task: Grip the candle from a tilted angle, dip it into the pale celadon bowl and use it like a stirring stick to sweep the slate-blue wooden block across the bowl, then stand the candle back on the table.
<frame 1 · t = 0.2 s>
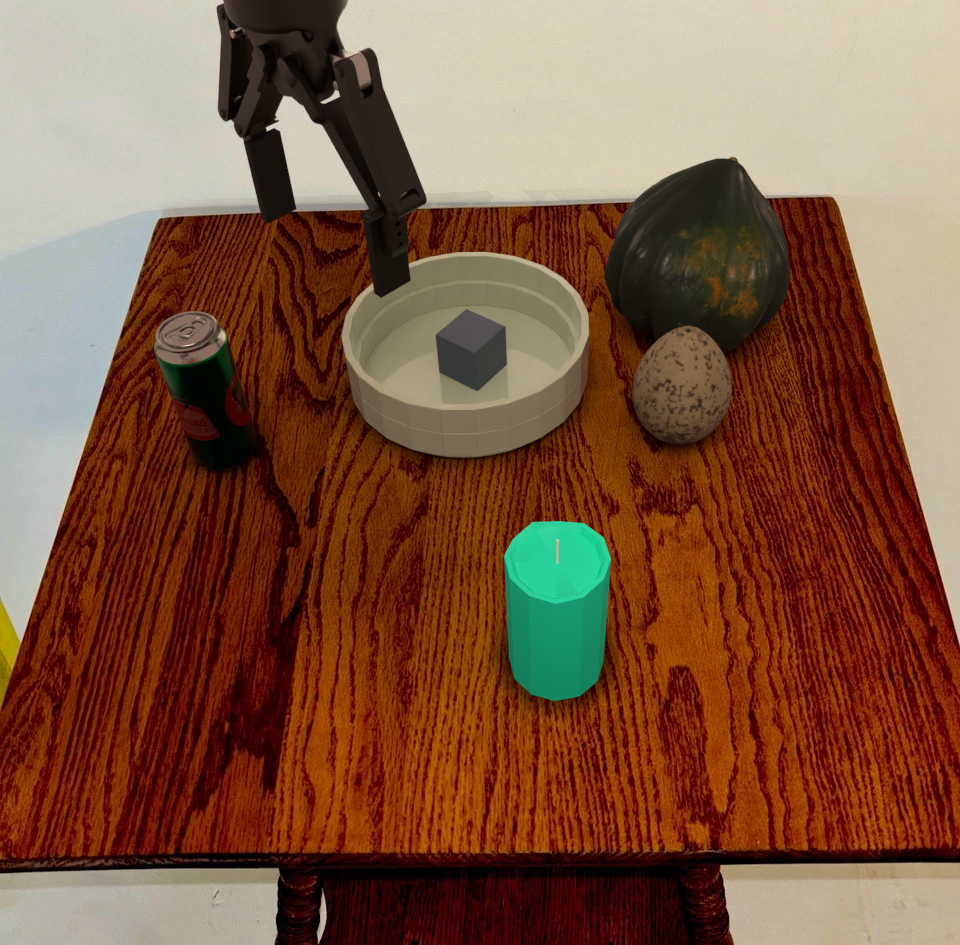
hand: (333, 249, 76), 13 cm above the table, tool pointing down, fingers open, 13 cm apart
block: (473, 368, 84), point 1 cm above the table, touching bowl
squash: (688, 322, 88), on the table
bowl: (469, 377, 85), on the table
candle: (556, 661, 66), on the table
decorative egg: (676, 433, 79), on the table
soda can: (226, 452, 80), on the table
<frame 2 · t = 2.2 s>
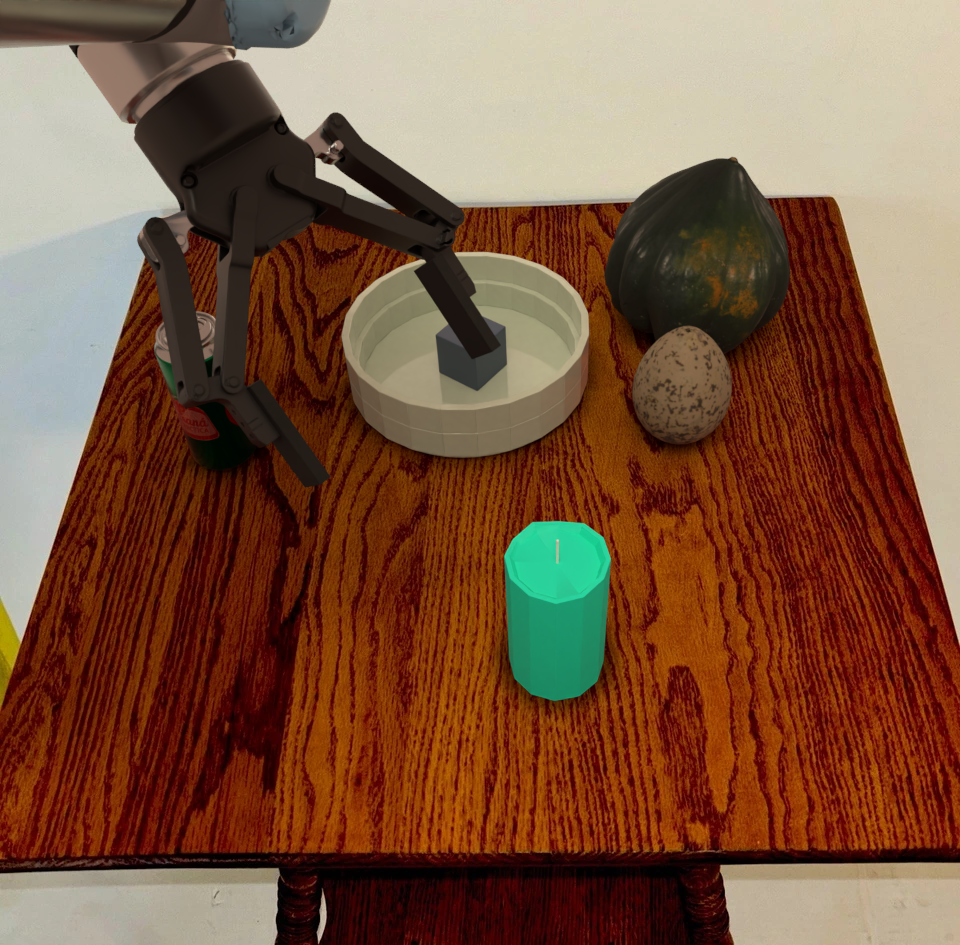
hand: (406, 415, 61), 15 cm above the table, tool tilted 45°, fingers open, 13 cm apart
nothing on the table moved.
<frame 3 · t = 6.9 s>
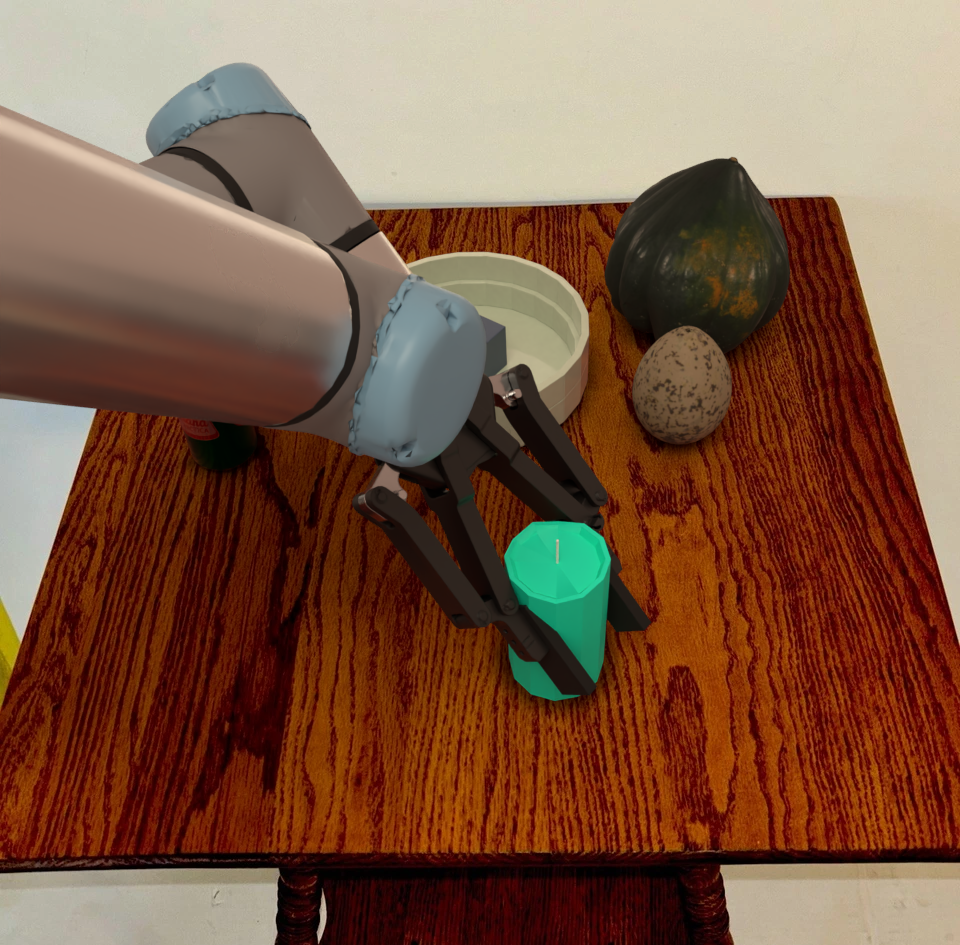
hand: (606, 657, 61), 4 cm above the table, tool tilted 45°, fingers closed on candle, 5 cm apart
candle: (556, 661, 66), on the table, touching gripper
everything else where it was.
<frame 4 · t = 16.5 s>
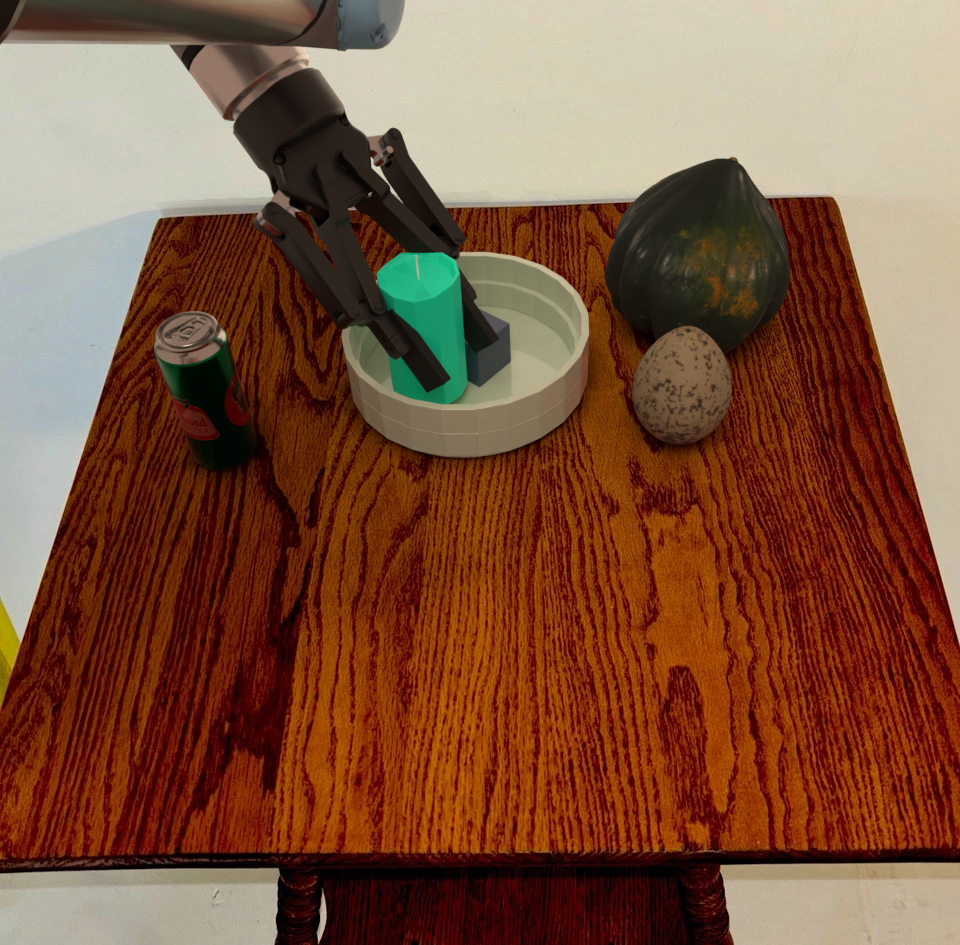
hand: (463, 365, 77), 6 cm above the table, tool tilted 45°, fingers closed on candle, 5 cm apart
block: (477, 364, 85), point 1 cm above the table, touching bowl, candle
candle: (429, 384, 82), point 2 cm above the table, touching block, gripper
everything else where it was.
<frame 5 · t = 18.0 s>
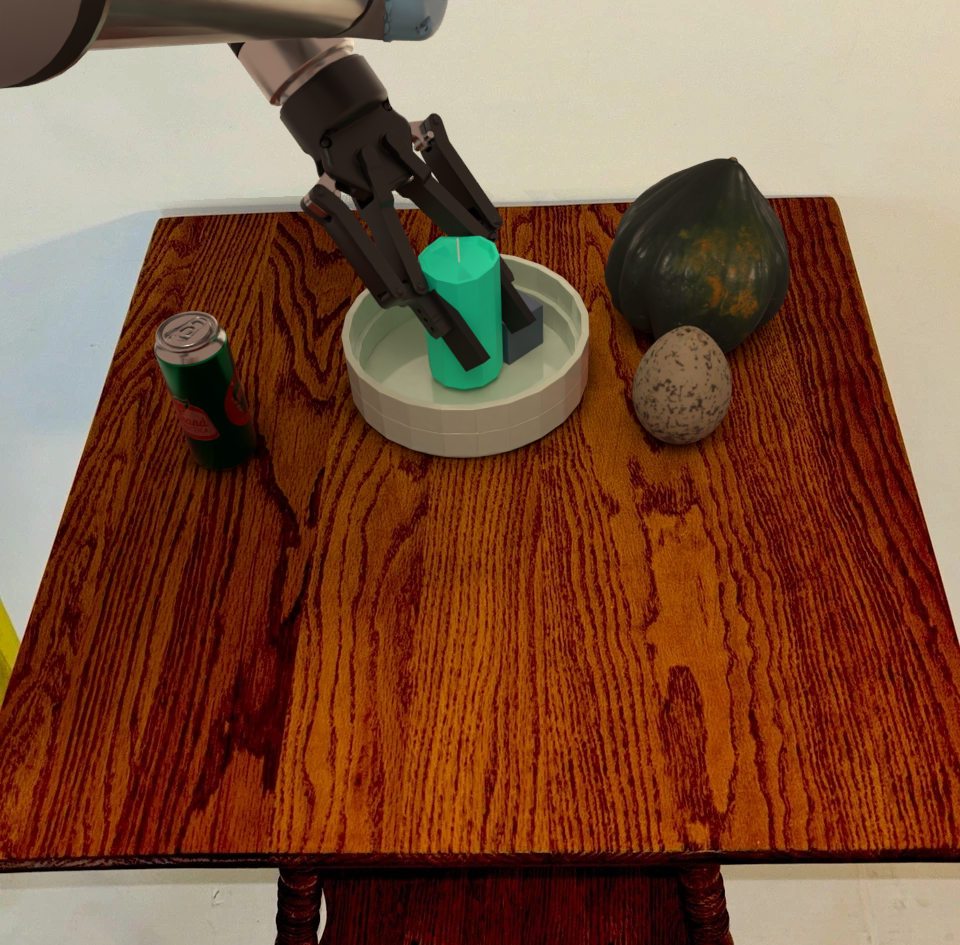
hand: (501, 345, 79), 5 cm above the table, tool tilted 45°, fingers closed on candle, 5 cm apart
block: (509, 343, 86), point 1 cm above the table, touching bowl, candle, gripper
candle: (466, 366, 84), point 1 cm above the table, touching block, gripper
everything else where it was.
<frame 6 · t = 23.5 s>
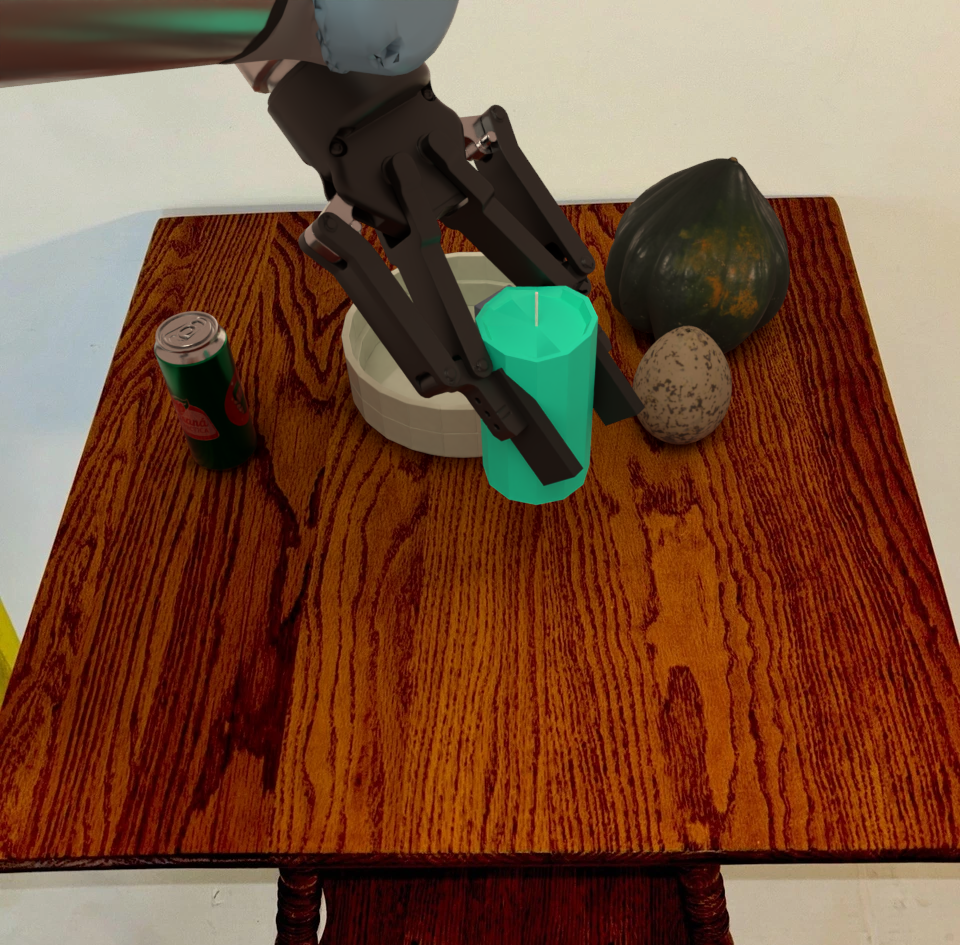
hand: (594, 445, 54), 18 cm above the table, tool tilted 45°, fingers closed on candle, 5 cm apart
block: (509, 343, 86), point 1 cm above the table, touching bowl
candle: (536, 467, 58), point 14 cm above the table, touching gripper
everything else where it was.
when the fingers open (4 cm above the table, at t = 28.1 s): candle stays where it is, on the table.
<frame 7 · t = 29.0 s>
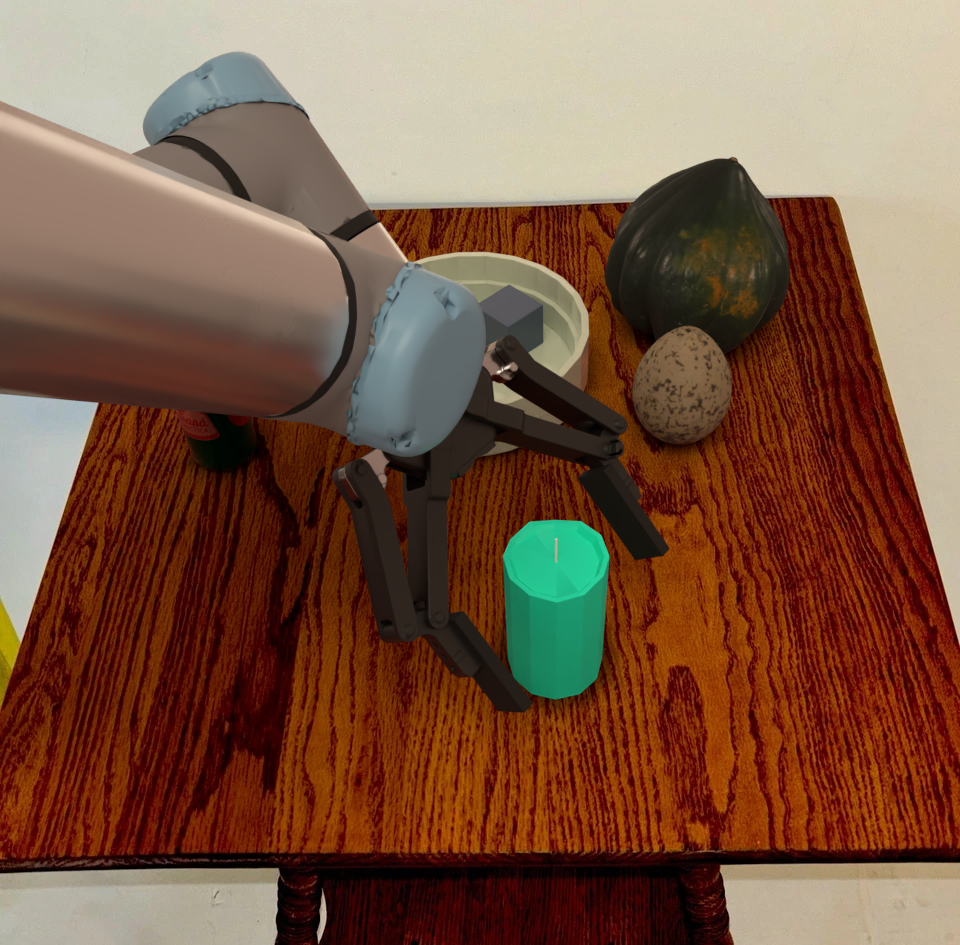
hand: (588, 627, 61), 6 cm above the table, tool tilted 45°, fingers open, 13 cm apart
candle: (554, 659, 66), on the table
everything else where it was.
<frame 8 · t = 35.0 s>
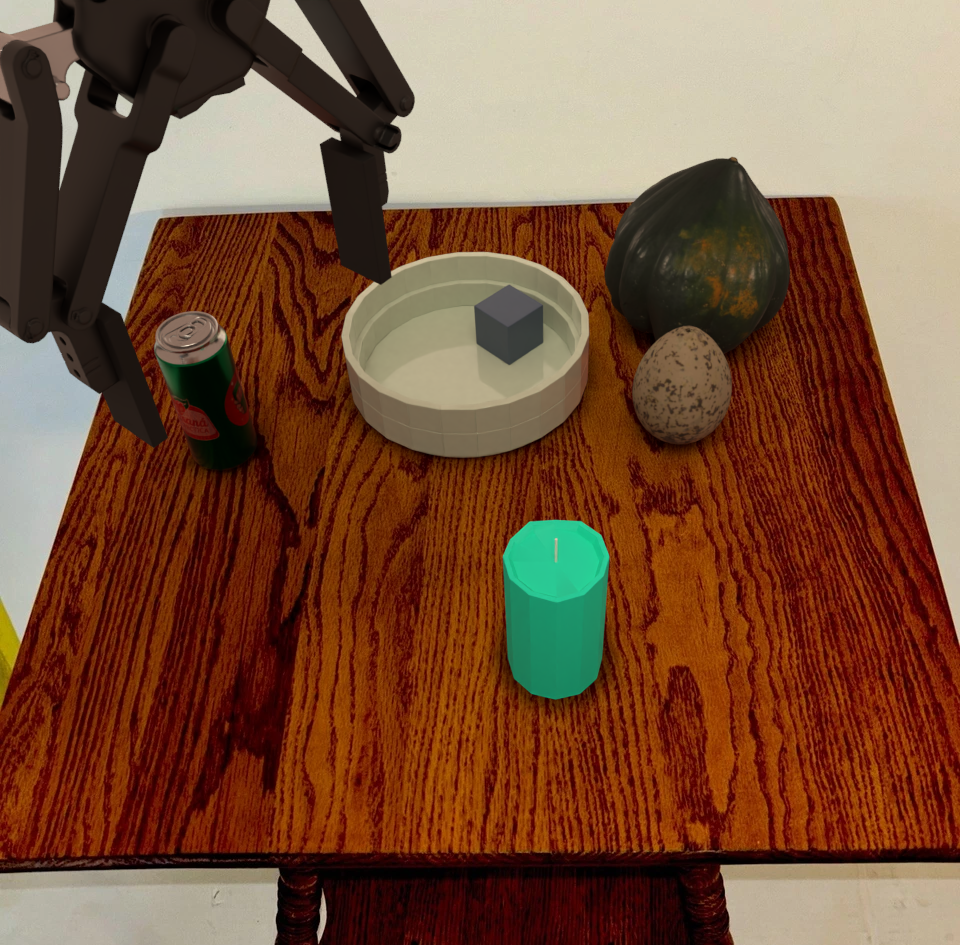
hand: (261, 345, 47), 27 cm above the table, tool pointing down, fingers open, 13 cm apart
nothing on the table moved.
at the end: block inside the target area in the bowl (4.8 cm from its centre), point 0.6 cm above the bowl's base; block moved 4.3 cm from its start; candle tilted 0° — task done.
